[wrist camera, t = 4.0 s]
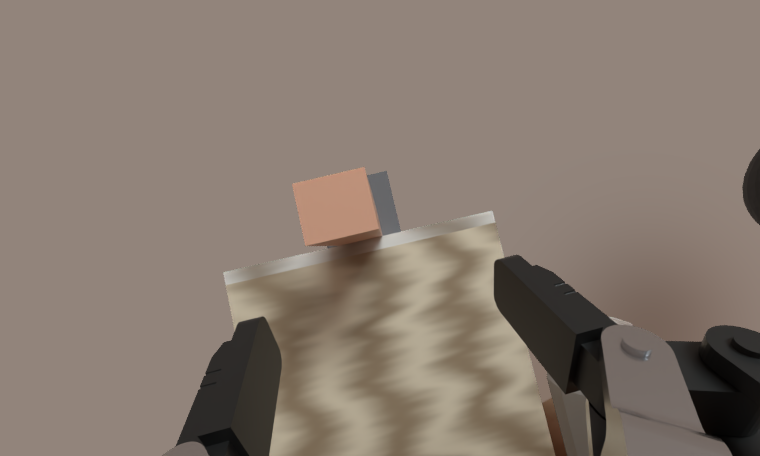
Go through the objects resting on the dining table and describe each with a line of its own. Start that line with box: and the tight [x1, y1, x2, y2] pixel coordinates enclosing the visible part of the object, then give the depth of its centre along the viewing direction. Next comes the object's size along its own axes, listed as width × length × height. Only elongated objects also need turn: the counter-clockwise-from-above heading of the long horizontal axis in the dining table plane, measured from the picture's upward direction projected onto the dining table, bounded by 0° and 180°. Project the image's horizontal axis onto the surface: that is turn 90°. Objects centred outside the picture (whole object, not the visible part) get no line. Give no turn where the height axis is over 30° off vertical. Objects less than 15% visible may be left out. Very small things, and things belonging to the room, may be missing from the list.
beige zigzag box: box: [223, 211, 555, 456], centre depth 28 cm, size 22×11×32 cm, turn 94°
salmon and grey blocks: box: [292, 167, 401, 248], centre depth 24 cm, size 20×7×6 cm, turn 179°
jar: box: [547, 317, 633, 456], centre depth 31 cm, size 10×10×18 cm
